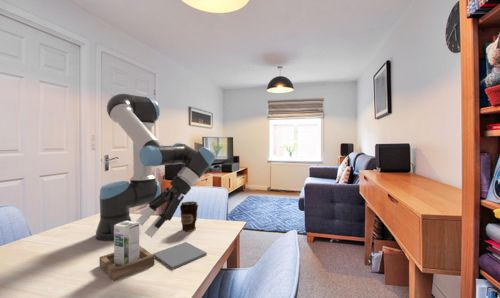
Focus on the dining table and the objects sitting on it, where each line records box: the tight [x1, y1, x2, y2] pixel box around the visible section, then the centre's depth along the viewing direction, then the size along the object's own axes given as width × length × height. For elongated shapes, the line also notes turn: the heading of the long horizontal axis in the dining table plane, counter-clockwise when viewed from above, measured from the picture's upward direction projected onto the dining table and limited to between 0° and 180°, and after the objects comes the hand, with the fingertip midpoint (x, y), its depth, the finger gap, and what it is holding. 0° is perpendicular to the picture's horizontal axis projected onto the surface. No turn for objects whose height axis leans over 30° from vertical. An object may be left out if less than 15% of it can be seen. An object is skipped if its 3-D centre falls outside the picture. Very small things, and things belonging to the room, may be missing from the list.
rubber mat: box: [152, 241, 208, 270], centre depth 88 cm, size 14×14×1 cm
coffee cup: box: [179, 200, 199, 232], centre depth 114 cm, size 9×8×13 cm
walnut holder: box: [99, 244, 155, 281], centre depth 81 cm, size 13×13×3 cm
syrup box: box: [113, 220, 140, 267], centre depth 81 cm, size 6×6×14 cm
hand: (143, 229), depth 82 cm, fingers open, 13 cm apart
